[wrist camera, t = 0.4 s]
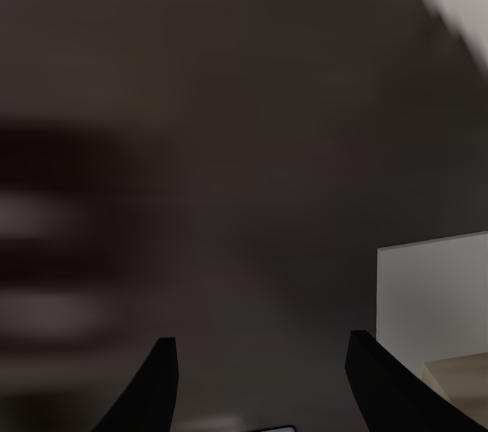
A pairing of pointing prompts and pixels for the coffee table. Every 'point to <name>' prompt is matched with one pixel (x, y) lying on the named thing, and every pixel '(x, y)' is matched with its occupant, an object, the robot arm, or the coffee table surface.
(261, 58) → the coffee table surface
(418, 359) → the grey mat
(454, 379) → the wooden block
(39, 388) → the coffee table surface
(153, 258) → the coffee table surface
